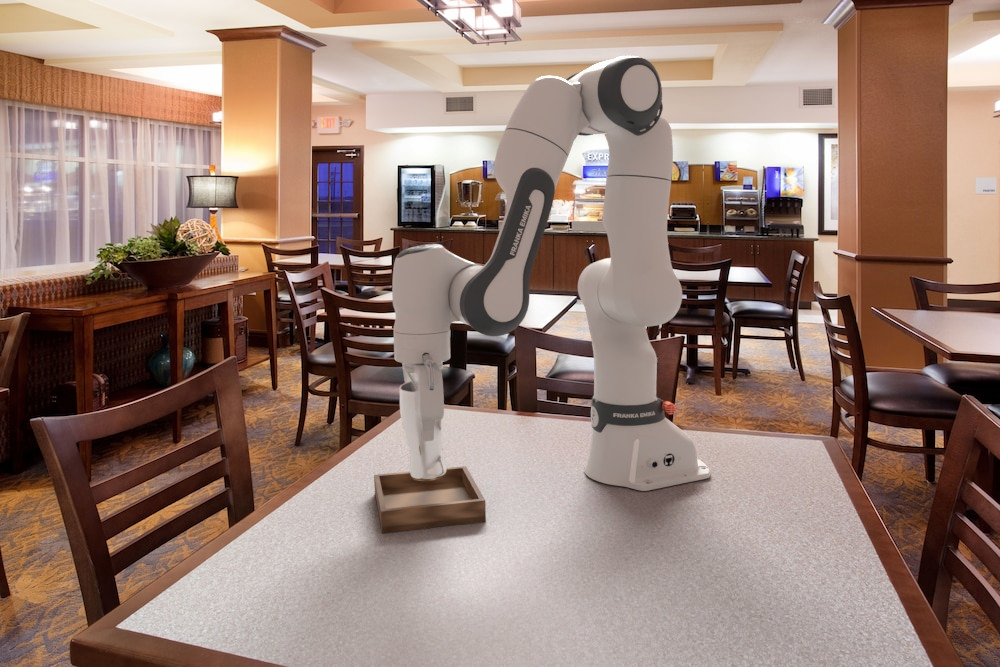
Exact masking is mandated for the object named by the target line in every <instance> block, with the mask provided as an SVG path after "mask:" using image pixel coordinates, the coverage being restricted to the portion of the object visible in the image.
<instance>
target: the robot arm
mask: <svg viewBox="0 0 1000 667" xmlns="http://www.w3.org/2000/svg"><path fill="white" fill-rule="evenodd" d="M661 82H662V81H661V79H660V75H659V74H658V71H657V69H656V67H655V66H654V65H653V64H652V63H651V62H650V61H649V60H647V59H646V58H643V57H640V56H635V55H632V56H631V55H626V56H625V55H623V56H618V57H616V58H614V59H609V60H605V61H602V62H598V63H595V64H593V65H591V66H590V67H588V68H586V69H584V70H583V71H581V72H577V73H574V74H572V75H570V76H569V77H568V78H566V79H564V78H563V77H559V76H555V75H543V76H540V77H537V78H536V79H534V80H533V81H532V82H531V83H530V84H529V85H528V87H526V90H525V92H523V94H522V96H521V97H520V99H519V101H518V103H517V104H516V106H515V108H514V110H513V112H512V114H511V116H510V117H509V120H508V122H507V125H506V127H505V129H504V130H503V134H502V135H501V138H500V141H499V144H498V146H497V149H496V154H495V159H494V164H493V174H494V177H495V180H496V182H497V184H498V186H499V187H500V188H501V190H502V191H503V192H504V194H505V198H506V209H505V215H504V218H503V221H502V224H501V226H500V230H499V232H498V236H497V238H496V241H495V244H494V246H493V250H492V253H491V255H490V258H488V261H487V262H486V263H485V264H484V265H482V264H478V263H475V262H472V261H469V260H467V259H465V258H462V257H460V256H458V255H456V254H454V253H453V252H451V251H449V250H448V249H446V247H445V246H444V245H442V244H439V243H428V244H420V245H415V246H411V247H408V248H405V249H403V250H401V251H400V252H399V253H398V254H397V255H396V257H395V260H394V263H393V270H392V285H391V286H392V290H391V292H392V306H393V309H394V313H395V318H394V319H395V320H394V325H393V353H394V355H393V356H394V360H395V362H397V363H401V364H402V365H401V366H402V373H403V381H404V383H406V382H410V391H413V392H415V409H416V411H417V414H418V416H419V418H420V420H421V425H422V429H421V437H422V439H423V441H432V440H433V439H434V427H435V421H436V420H441V419H443V416H444V417H445V403H444V401H445V398H444V380H443V373H442V370H443V367H444V366H443V362H447V361H449V360H450V359H451V328H450V327H451V324H452V323H454V322H461V323H463V324H465V325H468V326H470V327H471V328H472V329H474V330H475V331H476V332H477V333H480V334H481V335H484V336H487V337H501V336H504V335H507V334H509V333H511V332H513V331H514V330H516V329H517V328H518V327H519V326H520V325H521V323H522V322H523V321H524V319H525V318H526V315H527V313H528V310H529V304H530V284H531V275H532V271H533V267H534V264H535V260H536V257H537V255H538V251H539V248H540V245H541V244H542V243H541V242H542V239H543V236H544V233H545V230H546V227H547V224H548V221H549V218H550V215H551V211H552V207H553V204H554V198H555V194H556V189H557V186H558V183H559V181H560V178H561V175H562V173H563V170H564V168H565V165H566V163H567V161H568V158H569V155H570V153H571V150H572V147H573V145H574V141H576V138H577V137H578V136H586V137H587V136H591V135H592V136H593V135H603V134H604V137H605V139H606V142H607V145H608V152H609V158H608V163H607V164H608V165H607V171H606V180H605V190H604V199H603V210H602V219H601V220H602V226H603V228H604V230H605V232H606V235H607V240H608V245H609V246H608V247H609V253H610V257H607V258H606V257H605V258H603V259H600V260H597V261H595V262H592V263H590V264H589V265H587V266H586V267H585V268H584V269H583V270H582V272H581V274H580V275H579V278H578V281H577V293H578V296H579V299H580V300H581V302H582V304H583V307H584V310H585V314H586V320H587V323H588V324H587V325H588V329H589V330H588V331H589V334H590V341H591V345H592V351H593V381H594V382H593V396H592V397H591V408H590V422H591V428H592V434H591V442H590V448H589V453H588V457H587V460H586V465H585V466H584V467H585V468H584V473H585V475H586V476H587V477H589V478H590V479H591V480H594V481H596V482H599V483H602V484H605V485H611V486H618V487H625V488H629V489H633V490H636V491H641V492H647V491H651V490H657V489H658V490H659V489H662V488H667V487H672V486H676V485H681V484H686V483H691V482H696V481H701V480H705V479H710V477H711V470H710V467H709V466H708V465H707V464H706V463H705V462H703V461H702V460H701V459H700V458H698V453H697V449H696V444H695V443H694V440H693V439H692V437H691V436H689V434H688V433H686V432H685V431H684V430H683V429H681V428H680V427H678V426H677V425H676V424H674V423H673V422H672V421H671V420H670V419H668V418H667V417H666V415H665V413H666V414H668V415H674V414H675V412H676V411H677V405H676V404H674V403H672V402H671V401H669V400H664V399H661V398H659V397H658V396H657V379H658V378H657V370H658V369H657V368H658V367H657V366H658V365H657V363H658V359H657V352H656V351H655V349H654V348H653V345H652V344H651V341H650V339H649V335H648V331H647V327H654V326H660V325H661V326H662V325H664V324H666V323H668V322H669V321H671V320H673V318H674V317H675V316H676V315H677V313H678V312H679V310H680V308H681V305H682V301H683V289H682V284H681V283H680V280H679V279H678V277H677V276H676V274H675V271H674V268H673V266H672V261H671V255H670V248H669V241H668V240H669V239H668V238H669V237H668V215H669V207H670V198H671V196H670V195H671V189H672V187H671V186H672V180H673V179H672V175H673V164H674V162H673V161H674V160H673V159H674V153H673V152H674V150H673V149H674V148H673V134H672V132H673V131H672V127H671V126H670V123H669V122H668V120H666V118H663V117H662V113H663V110H664V109H663V107H664V106H663V102H662V101H663V86H662V83H661ZM430 389H431V390H430Z"/></svg>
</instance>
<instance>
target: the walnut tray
mask: <svg viewBox="0 0 1000 667" xmlns="http://www.w3.org/2000/svg"><path fill="white" fill-rule="evenodd" d="M446 469H447V472H446V474H445V475H444V476H442V477H441V478H438V479H435V480H430V481H418V480H414V479H412V478H411V477H410V475H409V471H399V472H390V473H381V474H380V473H379V474H374V475H373V481H374V484H373V485H374V497H375V501H376V502H375V503H376V509H377V512H378V513H377V514H378V518H379V519H378V520H379V523H380V524H379V525H380V529H381V534H389V533H390V532H391V533H398V531H400V532H407V531H406V530H408V531H415V530H414V529H417V530H424V529H434V528H441V527H450V526H460V525H469V524H478V523H486V522H487V521H486V520H487V516H486V515H487V513H486V498H485V497H484V495H483V494H482V492H481V490H480V488H479V487H478V485H477V482H475V480H474V478H473V476H472V475H471V473H470V470H469V469H468V467H467V466H466V465H465V466H453V467H446ZM391 533H390V534H391Z"/></svg>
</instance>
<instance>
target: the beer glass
mask: <svg viewBox="0 0 1000 667" xmlns="http://www.w3.org/2000/svg"><path fill="white" fill-rule="evenodd" d="M398 389H399V413H400V420H401V425H402V429H403V433H404V435H405V436H404V437H405V440H406V442H407V447H408V449H409V450H408V452H409V459H410V460H409V470H408V472H409V475H410V477H411V478H412V479H414V480H418V481H430V480H435V479H438V478H441V477H442V476H444V475H445V474H446V472H447V469H446V468H447V465H446V462H445V459H444V452H443V443H444V441H443V440H444V432H445V415H444V416H443V419H441V420H436V421H435V427H434V439H433V440H432V441H423V439H422V437H421V429H422V425H421V420H420V418H419V416H418V414H417V411H416V409H415V392H413V391H410V382H406V383H405V382H403V383H402V384H400V385H399V388H398ZM430 390H431V389H430Z"/></svg>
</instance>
